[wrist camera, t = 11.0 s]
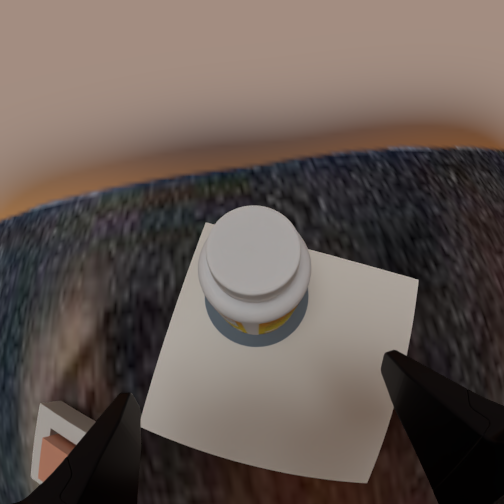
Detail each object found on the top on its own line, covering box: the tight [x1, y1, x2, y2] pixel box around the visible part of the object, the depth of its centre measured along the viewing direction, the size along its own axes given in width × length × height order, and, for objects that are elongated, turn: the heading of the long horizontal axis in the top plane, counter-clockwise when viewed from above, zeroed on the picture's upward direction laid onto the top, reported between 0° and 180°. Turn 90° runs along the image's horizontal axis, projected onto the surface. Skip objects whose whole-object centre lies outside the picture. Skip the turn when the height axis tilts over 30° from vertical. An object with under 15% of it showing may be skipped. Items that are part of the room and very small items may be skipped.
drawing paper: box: [141, 223, 418, 483], centre depth 21 cm, size 18×17×1 cm
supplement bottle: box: [198, 206, 311, 335], centre depth 17 cm, size 6×6×10 cm
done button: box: [38, 434, 76, 482], centre depth 15 cm, size 4×4×2 cm
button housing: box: [31, 401, 96, 484], centre depth 16 cm, size 8×8×3 cm
